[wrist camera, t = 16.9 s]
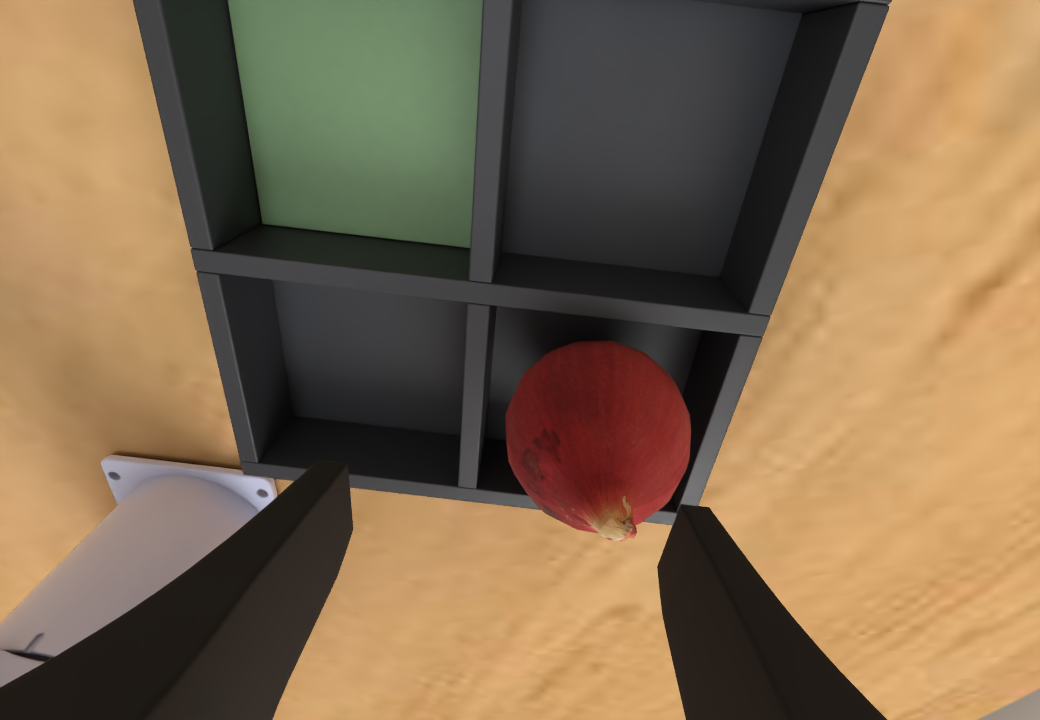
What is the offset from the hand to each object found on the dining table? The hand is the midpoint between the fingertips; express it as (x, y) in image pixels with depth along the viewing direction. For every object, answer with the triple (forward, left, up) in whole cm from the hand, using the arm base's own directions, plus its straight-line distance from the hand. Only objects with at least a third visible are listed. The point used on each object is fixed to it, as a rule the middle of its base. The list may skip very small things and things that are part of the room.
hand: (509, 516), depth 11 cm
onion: (-1, -3, -9) cm, 10 cm away
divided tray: (+3, +2, -10) cm, 10 cm away
